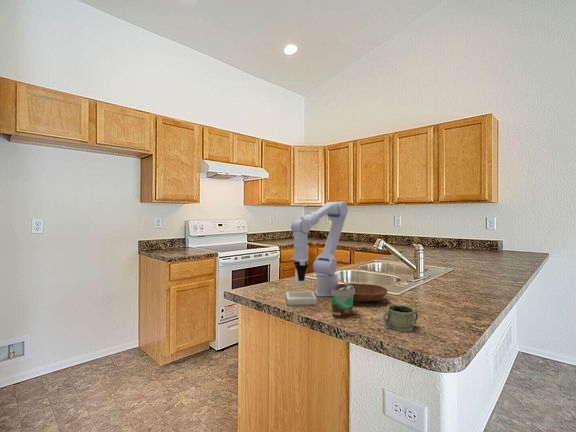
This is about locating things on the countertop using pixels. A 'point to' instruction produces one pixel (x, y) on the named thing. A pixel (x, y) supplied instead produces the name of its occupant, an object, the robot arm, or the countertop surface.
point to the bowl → (366, 292)
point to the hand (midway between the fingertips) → (300, 279)
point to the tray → (301, 298)
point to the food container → (342, 301)
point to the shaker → (297, 282)
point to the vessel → (400, 317)
